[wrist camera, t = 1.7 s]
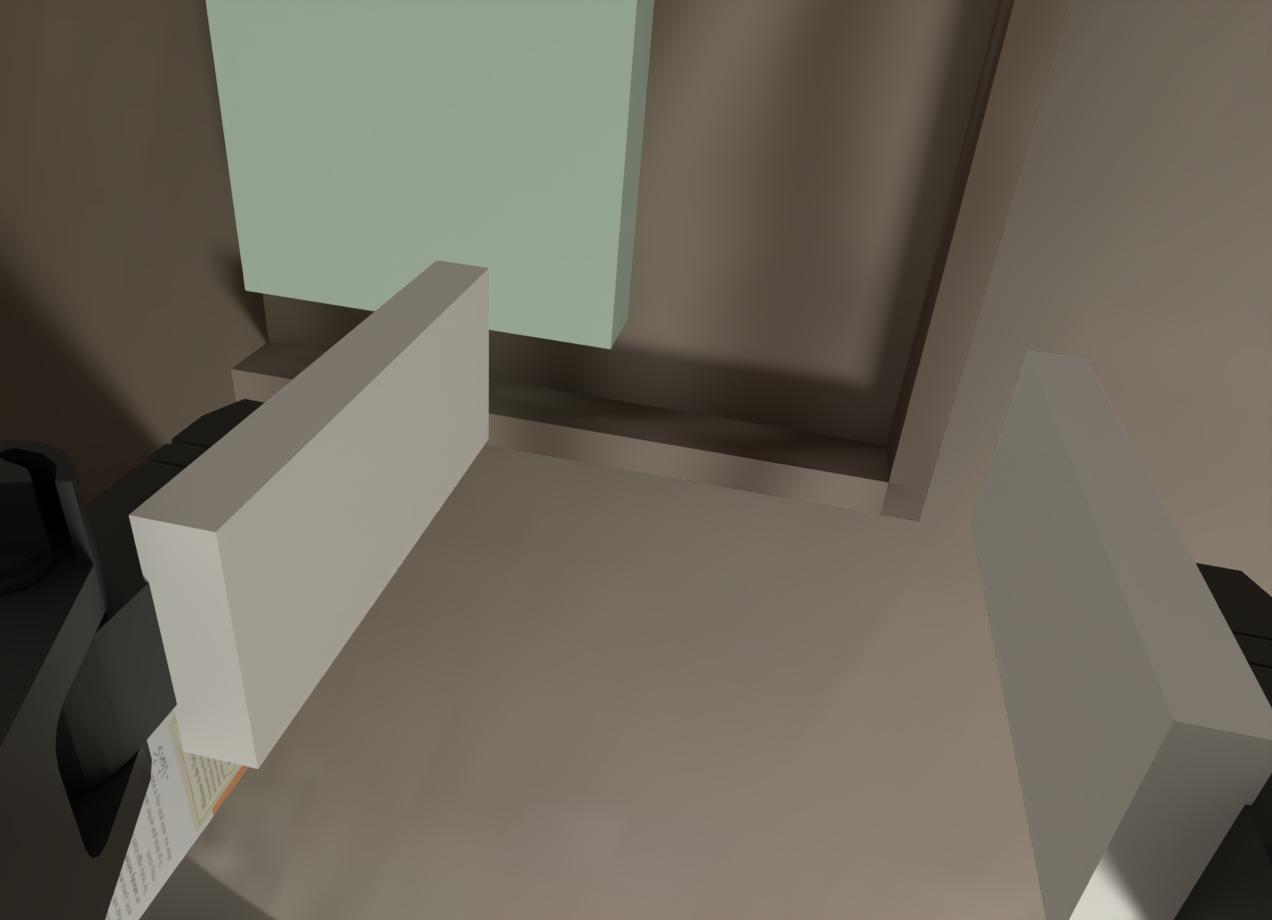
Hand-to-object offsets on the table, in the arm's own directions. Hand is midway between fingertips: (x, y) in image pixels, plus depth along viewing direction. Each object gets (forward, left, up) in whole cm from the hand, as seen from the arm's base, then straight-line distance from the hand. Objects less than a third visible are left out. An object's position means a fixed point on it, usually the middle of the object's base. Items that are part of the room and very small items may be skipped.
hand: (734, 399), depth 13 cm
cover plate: (+10, 0, -16) cm, 20 cm away
